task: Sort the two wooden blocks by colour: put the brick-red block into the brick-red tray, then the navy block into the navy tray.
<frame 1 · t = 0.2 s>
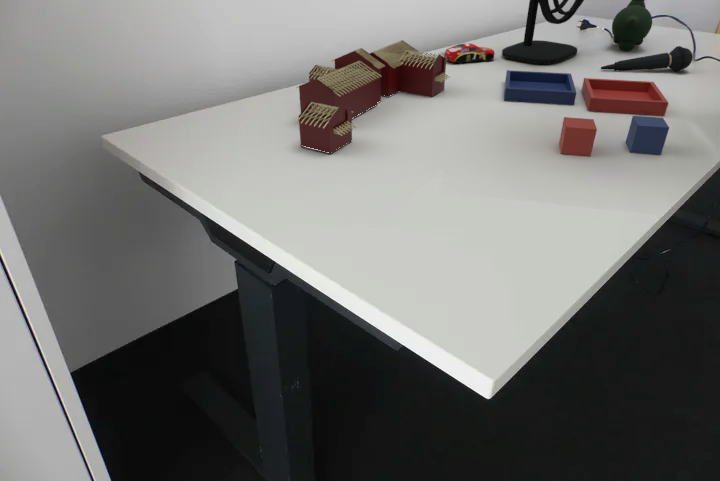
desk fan: (541, 56, 140), on the table
race car: (469, 61, 137), on the table
toy houses: (361, 110, 107), on the table
navy tray: (537, 92, 114), on the table
red tray: (620, 102, 108), on the table
red block: (574, 149, 89), on the table
microphone: (643, 70, 128), on the table
toy figurine: (626, 46, 148), on the table
navy block: (642, 148, 89), on the table
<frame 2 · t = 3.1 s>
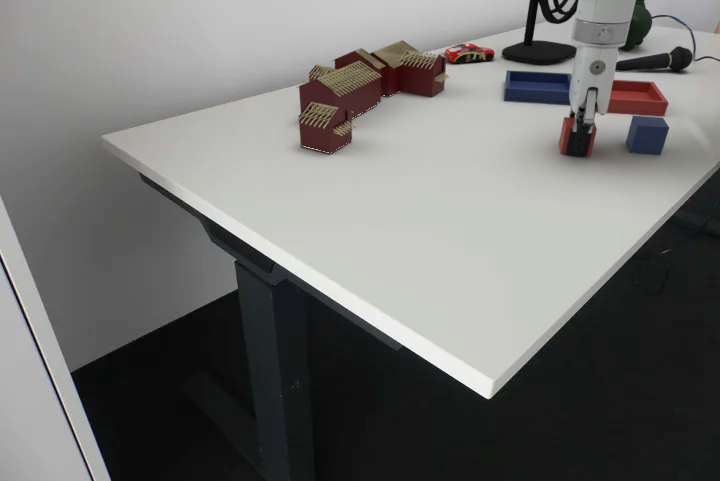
hand: (574, 147, 89), 0 cm above the table, tool pointing down, fingers closed on red block, 4 cm apart
red block: (574, 149, 89), on the table, touching gripper
everything else where it was.
when the fingers open (1 cm above the table, at t = 10.6 s): red block stays where it is, resting on red tray.
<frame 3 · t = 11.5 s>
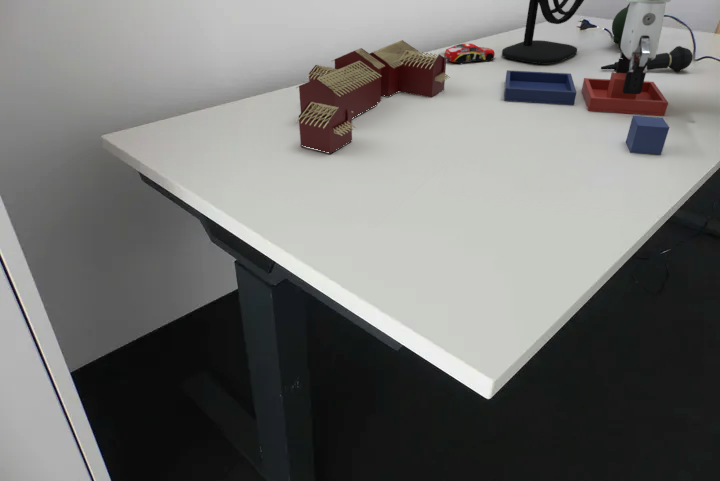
hand: (627, 85, 107), 3 cm above the table, tool pointing down, fingers open, 9 cm apart
red block: (620, 99, 108), point 1 cm above the table, touching red tray
everything else where it was.
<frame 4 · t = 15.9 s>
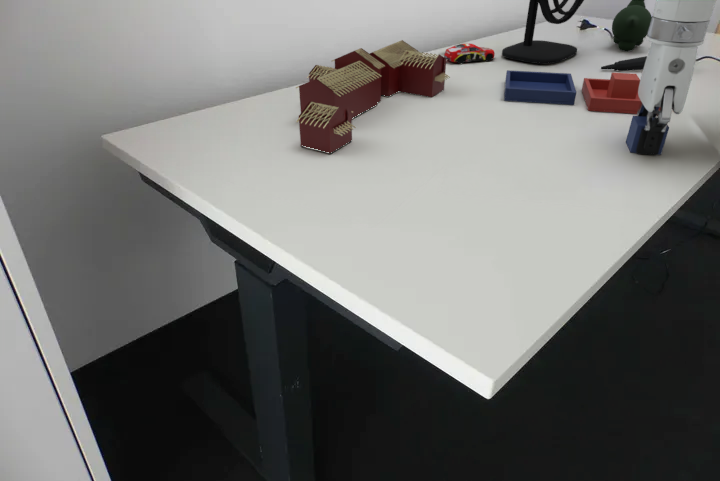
hand: (643, 146, 89), 0 cm above the table, tool pointing down, fingers closed on navy block, 4 cm apart
navy block: (642, 148, 89), on the table, touching gripper
everything else where it was.
when the fingers open (1 cm above the table, at t = 23.3 s): navy block stays where it is, resting on navy tray.
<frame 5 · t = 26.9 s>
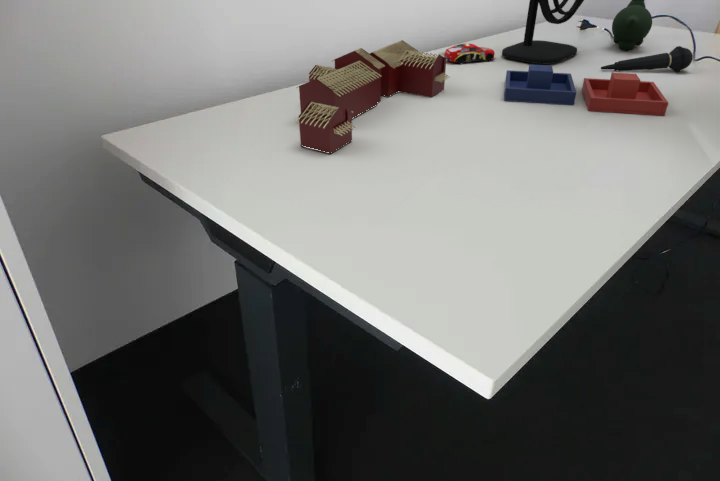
navy block: (537, 89, 114), point 1 cm above the table, touching navy tray
everything else where it was.
at the end: red block inside the target area in the red tray (0.2 cm from its centre), point 0.6 cm above the red tray's base; navy block inside the target area in the navy tray (0.1 cm from its centre), point 0.6 cm above the navy tray's base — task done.
